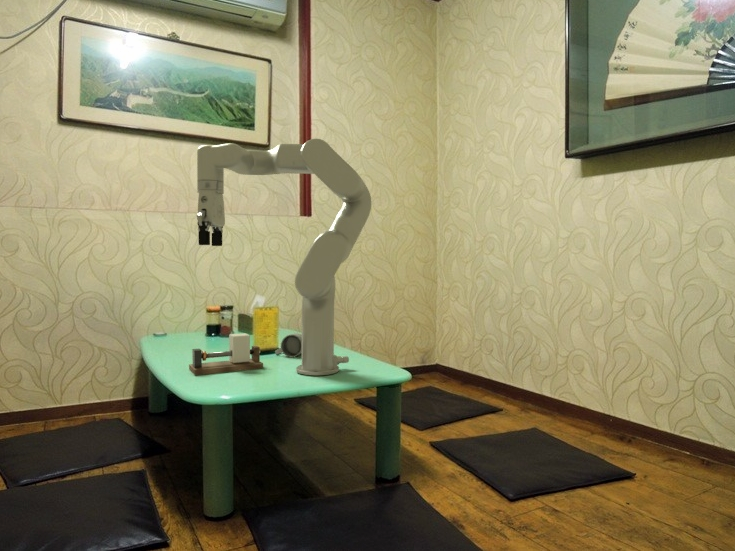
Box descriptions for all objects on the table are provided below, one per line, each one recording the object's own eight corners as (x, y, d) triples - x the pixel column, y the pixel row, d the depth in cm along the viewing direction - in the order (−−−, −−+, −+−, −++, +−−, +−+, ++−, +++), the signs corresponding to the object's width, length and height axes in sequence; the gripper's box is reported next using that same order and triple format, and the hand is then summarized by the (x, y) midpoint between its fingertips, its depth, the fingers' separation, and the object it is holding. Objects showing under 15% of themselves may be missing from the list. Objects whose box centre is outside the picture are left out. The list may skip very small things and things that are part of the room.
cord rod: (252, 360, 158) (252, 344, 158) (255, 362, 155) (255, 345, 155) (192, 365, 149) (192, 349, 149) (194, 367, 147) (194, 350, 146)
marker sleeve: (245, 358, 158) (245, 333, 158) (249, 361, 154) (249, 335, 153) (229, 359, 155) (229, 334, 155) (233, 362, 151) (233, 336, 151)
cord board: (254, 362, 161) (254, 344, 161) (263, 368, 154) (263, 348, 153) (189, 369, 152) (188, 349, 152) (194, 375, 144) (194, 354, 144)
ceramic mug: (308, 353, 179) (307, 331, 179) (302, 357, 171) (302, 334, 171) (279, 352, 180) (278, 331, 180) (271, 357, 172) (271, 334, 172)
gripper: (211, 183, 142) (211, 244, 143) (232, 191, 159) (233, 246, 160) (185, 183, 143) (186, 244, 143) (209, 192, 160) (209, 246, 161)
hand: (210, 245), depth 152 cm, fingers open, 9 cm apart
